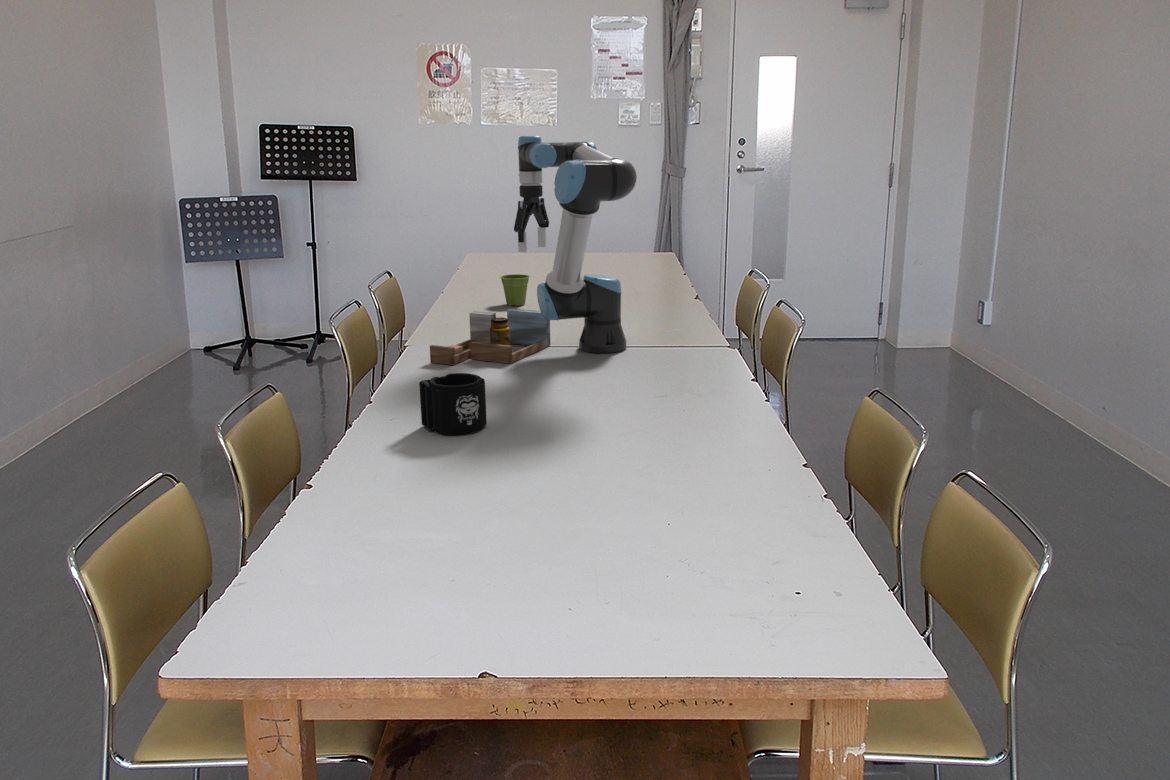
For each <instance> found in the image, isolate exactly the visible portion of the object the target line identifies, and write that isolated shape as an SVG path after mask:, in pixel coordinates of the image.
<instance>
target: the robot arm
mask: <svg viewBox="0 0 1170 780" xmlns="http://www.w3.org/2000/svg"><path fill="white" fill-rule="evenodd" d="M517 141H518V143H517V150H518V151H517V152H518V178H519V184H520V185H519V197H521V198H523V199H522V200H518V202H517V212H516V215H515V216H516V217H515V221H514V226H513V231H514V233H517V245H518V246H517V247H518V253H527V251H528V247H527V246H528V245H527V243H528V242H527V239H528V238H527V232H526V229H527V225H528V223H529V221H530V217H531V216H532V215H533V216H534V219H535V220H536V222H537V224H538V227H537V247H538V248H547V233H546V232H547V229H546V228H549V226H550V220H549V216H548V213H547V209H546V208H547V207H546V206H545V205H546V204H545V198H544V197H543V194H544V193H543V185H542V184H543V169H547V168H557V167H558V168H557V171H556V173H555V177H554V188H553V189H554V196H555V198H556V201H557V202H558V203H559V206H560V207H561V208H562V215H561V220H560V225H559V230H558V237H557V243H556V249H555V255H554V259H553V266H552V271H550V272H549V273H548V274H547V275H546V277H545V282H540V283H539V284H537V289H536V296H537V304H538V308H539V311H541V313H542V315H543V317H544V318H545V319H546V320H550V321H562V320H573V319H582V318H583V319H584V323H583V328H582V331H581V334H580V337H579V340H578V341H579V342H578V343H579V344H578V348H579V350H581V351H582V352H587V353H593V354H612V353H618V352H622V351H624V350H626V349H627V339H626V335H625V333H624V329H623V326H622V294H623V293H622V287H621V281H620V280H619V278H617V277H615V276H610V275H609V276H608V275H602V274H584V275H583V277H581V274H582V269H583V265H584V264H583V263H584V260H585V259H584V258H585V254H586V249H587V243H588V240H589V239H588V238H589V233H590V228H591V223H592V217H593V215H594V214H596V213H598V211H599V209H600V205H601V202H613V201H619V200H621V199H623V198H625V197H628V195H629V194H631V192H632V191H633V190H634V188H635V187H636V184H637V176H638V175H637V171H636V168H635V166H634V165H633V164H632V163H631V162H630V161H628V160H626V159H624V158H622V157H618V156H617V157H612V156H609V155H607V154H606V153H603V152H601V151H599V150H598V148H597V146H596V144H595V143H594V142H591V141H583V140H582V141H577V142H576V141H571V142H569V141H568V142H542V138H541V136H540V135H521V136H519V137H518V139H517Z"/></svg>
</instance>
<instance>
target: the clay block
mask: <svg viewBox="0 0 1170 780" xmlns="http://www.w3.org/2000/svg"><path fill="white" fill-rule="evenodd" d="M447 347H454V351H455V355H456V354H458V353H461V352H463V346H457V344H454V345H453V344H451V345H448V346H447Z"/></svg>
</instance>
